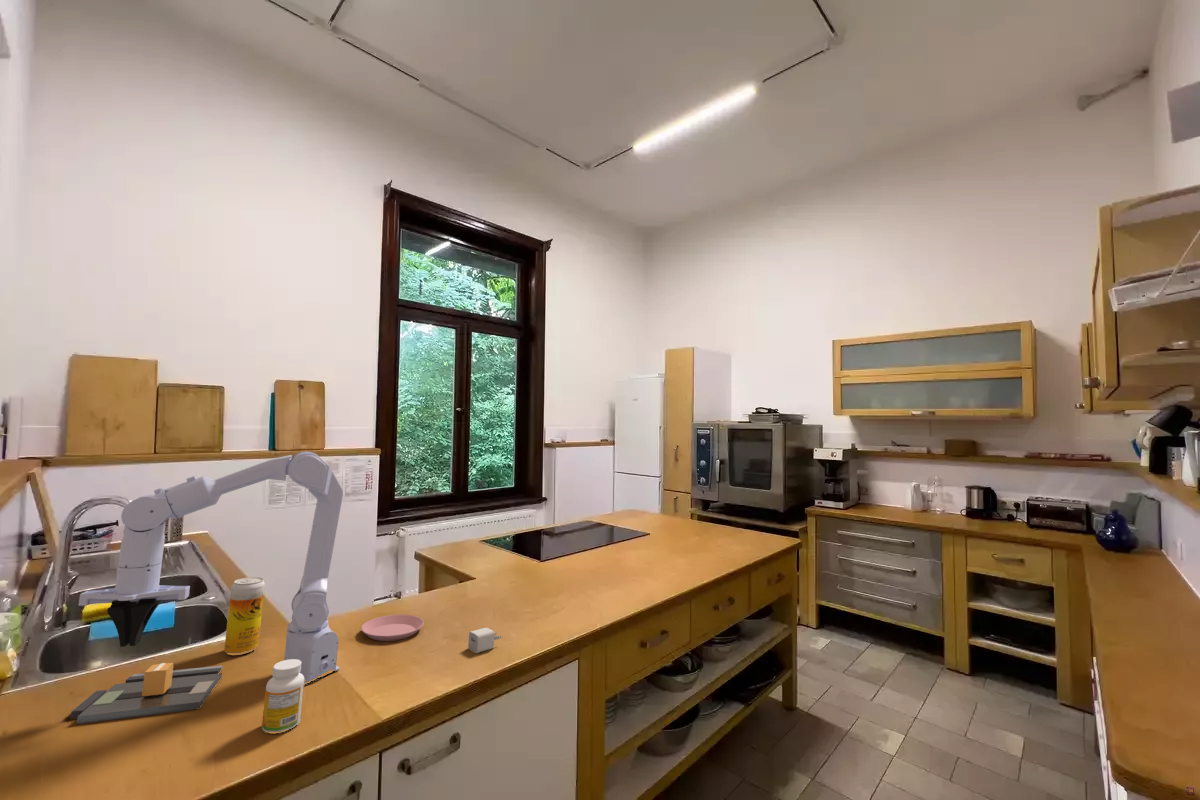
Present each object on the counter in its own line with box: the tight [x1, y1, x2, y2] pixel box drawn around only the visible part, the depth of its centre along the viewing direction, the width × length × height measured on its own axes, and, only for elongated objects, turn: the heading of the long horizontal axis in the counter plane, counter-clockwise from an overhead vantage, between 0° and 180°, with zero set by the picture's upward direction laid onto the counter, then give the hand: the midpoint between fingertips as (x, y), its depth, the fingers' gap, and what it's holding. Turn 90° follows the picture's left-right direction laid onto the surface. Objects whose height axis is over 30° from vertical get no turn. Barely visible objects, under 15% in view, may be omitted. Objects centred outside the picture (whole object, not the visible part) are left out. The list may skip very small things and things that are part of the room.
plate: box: [360, 614, 425, 642], centre depth 122 cm, size 14×14×2 cm
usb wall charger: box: [467, 627, 502, 654], centre depth 116 cm, size 4×7×4 cm, turn 135°
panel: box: [76, 672, 223, 725], centre depth 87 cm, size 16×11×1 cm
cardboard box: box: [142, 662, 175, 696], centre depth 87 cm, size 3×3×4 cm
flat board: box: [70, 665, 224, 720], centre depth 89 cm, size 17×13×1 cm
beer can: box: [223, 576, 266, 654], centre depth 108 cm, size 6×6×15 cm
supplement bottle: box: [261, 659, 305, 732], centre depth 81 cm, size 5×5×10 cm
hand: (130, 644), depth 86 cm, fingers closed
